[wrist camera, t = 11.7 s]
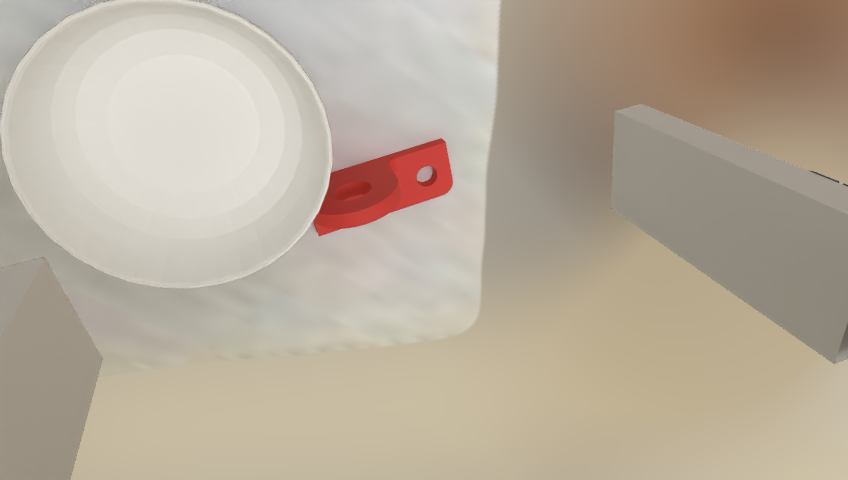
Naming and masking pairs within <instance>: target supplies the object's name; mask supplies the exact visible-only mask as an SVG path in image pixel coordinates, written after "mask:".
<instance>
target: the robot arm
mask: <svg viewBox="0 0 848 480" xmlns="http://www.w3.org/2000/svg"><path fill="white" fill-rule="evenodd" d="M613 152H614V153H613V176H612V202H611V209H612V210H614V211H615V212H617V213H618V214H620V215H621V216H622V217H624V218H625V219H627V220H628V221H630V222H631V223H633V224H634V225H636V226H637V227H638V228H640V229H641V230H643V231H644V232H646V233H647V234H648V235H650V236H651V237H653V238H654V239H655V240H657V241H658V242H660V243H661V244H663V245H664V246H666V247H667V248H669V249H670V250H671V251H673V252H674V253H676V254H677V255H678V256H680V257H681V258H683V259H684V260H686V261H687V262H688V263H690V264H691V265H693V266H694V267H696V268H697V269H699V270H700V271H701V272H703V273H704V274H706V275H707V276H709V277H710V278H711V279H713V280H714V281H716V282H717V283H719V284H720V285H721V286H723V287H724V288H726V289H727V290H729V291H730V292H732V293H733V294H734V295H736V296H737V297H739V298H740V299H742V300H743V301H744V302H746V303H747V304H749V305H750V306H752V307H753V308H754V309H756V310H757V311H759V312H760V313H762V314H763V315H765V316H766V317H767V318H769V319H770V320H772V321H773V322H775V323H776V324H777V325H779V326H780V327H782V328H783V329H785V330H786V331H788V332H789V333H790V334H792V335H793V336H795V337H796V338H798V339H799V340H800V341H802V342H803V343H805V344H806V345H808V346H809V347H810V348H812V349H814V350H815V351H816V352H818V353H819V354H821V355H822V356H823V357H825V358H826V359H828V360H829V361H831V362H832V363H833V364H836V363H838V362H841V361H843V360H846V359H848V185H846V184H840V183H839V181H836V180H834V179H831V178H829V177H826V176H823V175H821V174H818V173H816V172H813V171H808V170H805V169H802V168H800V167H797V166H795V165H793V164H790V163H787V162H785V161H782V160H780V159H777V158H775V157H773V156H770V155H768V154H765V153H762V152H760V151H757V150H755V149H753V148H750V147H748V146H745V145H742V144H740V143H738V142H735V141H733V140H730V139H728V138H725V137H723V136H720V135H718V134H715V133H713V132H710V131H708V130H705V129H703V128H700V127H698V126H695V125H692V124H690V123H688V122H685V121H683V120H680V119H678V118H675V117H673V116H670V115H668V114H665V113H663V112H660V111H658V110H655V109H653V108H650V107H648V106H645V105H643V104H640V105H637V106H633V107H629V108H625V109H621V110H617V111H615V127H614V151H613ZM102 359H103V358H102V357H101V355H100V353H99V352H98V350H97V348H96V346H95V345H94V343H93V341H92V339H91V338H90V336H89V334H88V332H87V331H86V329H85V327H84V325H83V324H82V322H81V320H80V318H79V317H78V315H77V313H76V311H75V310H74V308H73V306H72V304H71V303H70V301H69V299H68V297H67V296H66V294H65V292H64V290H63V289H62V287H61V285H60V284H59V282H58V280H57V278H56V277H55V275H54V273H53V271H52V270H51V268H50V266H49V264H48V263H47V261H46V259H45V257H42V258H38V259H35V260H31V261H27V262H23V263H19V264H15V265H11V266H7V267H3V268H2V270H1V271H0V480H70V479H71V475H72V471H73V468H74V464H75V460H76V456H77V452H78V449H79V445H80V441H81V438H82V434H83V430H84V427H85V423H86V419H87V415H88V411H89V407H90V404H91V400H92V396H93V393H94V389H95V385H96V381H97V378H98V374H99V371H100V367H101V363H102Z"/></svg>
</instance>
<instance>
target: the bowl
mask: <svg viewBox="0 0 848 480" xmlns="http://www.w3.org/2000/svg"><path fill="white" fill-rule="evenodd" d="M0 134H1V145H2V157H3V160H4V163H5V166H6V169H7V172H8V175H9V178H10V181H11V184H12V187H13V189H14V190H15V192H16V194H17V195H18V197H19V199H20V200H21V202H22V204H23V205H24V207H25V209H26V211H27V212H28V214H29V215H30V216H31V217H32V219H33V220H34V221H35V222H36V223H37V224H38V225H39V226H40V227H41V229H42V230H43V231H44V232H45V233H46V234H47V235H48V236H49V237H50V238H51V239H52V240H53V241H54V242H56V243H57V244H58V245H60V246H61V247H62V248H63V249H65V250H66V251H67V252H69V253H70V254H71V255H72V256H74V257H75V258H77V259H79V260H81V261H82V262H84V263H86V264H88V265H90V266H92V267H94V268H96V269H97V270H99V271H101V272H103V273H106V274H109V275H112V276H115V277H118V278H121V279H123V280H126V281H129V282H132V283H138V284H144V285H149V286H155V287H160V288H197V287H204V286H212V285H219V284H222V283H226V282H229V281H232V280H236V279H239V278H242V277H245V276H247V275H249V274H251V273H253V272H255V271H257V270H259V269H261V268H263V267H265V266H268V265H269V264H270V263H272V262H273V261H275V260H276V259H277V258H279V257H280V256H281V255H283V254H284V253H286V252H287V251H288V250H289V249H290V248H291V247H292V246H293V245H294V244H295V243H296V242H297V241H298V240H299V239H300V238H301V237H302V236H303V235H304V233H305V232H306V231H307V230H308V228H309V226H310V225H311V223H312V222H313V220H314V218H315V217H316V215H317V214H318V212H319V210H320V208H321V205H322V203H323V200H324V197H325V195H326V192H327V189H328V186H329V180H330V174H331V168H332V161H333V160H332V138H331V131H330V127H329V123H328V120H327V116H326V112H325V108H324V106H323V104H322V102H321V99H320V97H319V95H318V93H317V91H316V89H315V87H314V85H313V83H312V81H311V80H310V78H309V77H308V76H307V74H306V73H305V72H304V70H303V69H302V67H301V66H300V65H299V63H298V62H297V61H296V59H295V58H294V57H293V56H292V55H291V54H290V53H289V52H288V51H287V50H286V49H285V48H284V47H282V46H281V45H280V44H279V43H278V42H277V41H276V40H275V39H274V38H273V37H272V36H271V35H269V34H268V33H266V32H265V31H263V30H262V29H260V28H258V27H257V26H255V25H254V24H252V23H250V22H249V21H247V20H246V19H244V18H243V17H241V16H239V15H236V14H234V13H231V12H229V11H226V10H224V9H221V8H219V7H216V6H214V5H211V4H209V3H205V2H200V1H195V0H110V1H105V2H100V3H97V4H95V5H92V6H90V7H88V8H86V9H83V10H81V11H79V12H76V13H74V14H72V15H70V16H67V17H66V18H64V19H63V20H62V21H60V22H59V23H58V24H56V25H55V26H54V27H52V28H51V29H50V30H48V31H47V32H46V33H44V34H43V35H42V36H40V37H39V38H38V39H37V41H36V42H35V43H34V44H33V46H32V47H31V48H30V49H29V51H28V52H27V53H26V54H25V56H24V57H23V58H22V59H21V60H20V62H19V63H18V65H17V67H16V69H15V72H14V74H13V76H12V78H11V81H10V83H9V85H8V87H7V90H6V92H5V96H4V102H3V108H2V115H1V121H0Z"/></svg>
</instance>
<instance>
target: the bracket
mask: <svg viewBox="0 0 848 480" xmlns="http://www.w3.org/2000/svg"><path fill="white" fill-rule="evenodd" d="M425 166H431V167H433V175H432V177H431V178H430V179H429V180H428V181H425V182H418V181H417V173H418V171H419V170H420V169H421V168H423V167H425ZM452 184H453V180H452V174H451V169H450V163H449V158H448V153H447V147H446V142H445V141H444V140H443V139H438V140H435V141H431V142H428V143H425V144H422V145H419V146H415V147H412V148H409V149H406V150H403V151H400V152H396V153H393V154H390V155H387V156H384V157H380V158H377V159H374V160H371V161H368V162H364V163H361V164H358V165H355V166H352V167H349V168H345V169H342V170H339V171H336V172H333V173H331V174H330V180H329V186H328V189H327V192H326V195H325V197H324V200H323V203H322V205H321V208H320V210H319V212H318V214H317V215H316V217H315V218H314V223H315V226H316V229H317V232H318V235H319V236H321V235H324V234H327V233H330V232H333V231H336V230H339V229H344V228H352V227H357V226H361V225H365V224H368V223H370V222H373V221H375V220H377V219H380V218H381V217H383V216H385V215H387V214H388V213H391V212H394V211H397V210H400V209H403V208H406V207H409V206H412V205H415V204H418V203H421V202H424V201H427V200H430V199H433V198H436V197H439V196H442V195H444V194H446V193H447V192H448V191H449V190H450V189H451V187H452Z"/></svg>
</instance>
